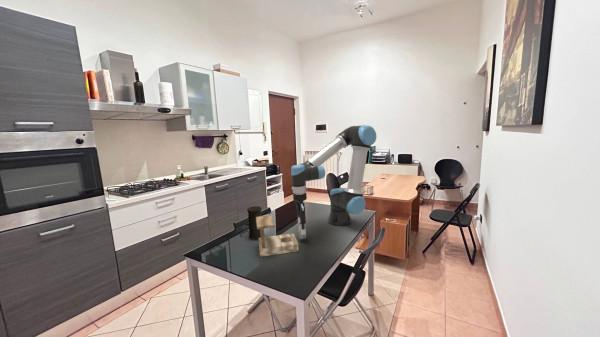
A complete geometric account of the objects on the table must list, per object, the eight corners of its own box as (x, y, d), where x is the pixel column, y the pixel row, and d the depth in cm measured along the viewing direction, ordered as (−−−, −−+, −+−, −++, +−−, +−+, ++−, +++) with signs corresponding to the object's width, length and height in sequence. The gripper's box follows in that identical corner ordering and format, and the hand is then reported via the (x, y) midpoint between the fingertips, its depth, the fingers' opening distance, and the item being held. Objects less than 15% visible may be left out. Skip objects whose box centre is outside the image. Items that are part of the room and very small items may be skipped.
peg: (305, 235, 142) (304, 215, 140) (306, 238, 138) (305, 218, 136) (298, 236, 141) (297, 216, 139) (299, 239, 138) (298, 219, 136)
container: (266, 234, 151) (264, 206, 149) (260, 240, 143) (258, 211, 140) (253, 233, 154) (251, 205, 151) (246, 239, 145) (243, 210, 143)
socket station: (293, 239, 142) (292, 212, 140) (298, 251, 128) (297, 222, 125) (258, 244, 138) (256, 216, 136) (259, 257, 124) (257, 227, 121)
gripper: (290, 190, 143) (293, 227, 147) (295, 197, 127) (298, 240, 130) (302, 188, 144) (305, 226, 148) (309, 196, 128) (312, 237, 132)
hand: (302, 232), depth 139 cm, fingers closed on peg, 4 cm apart
